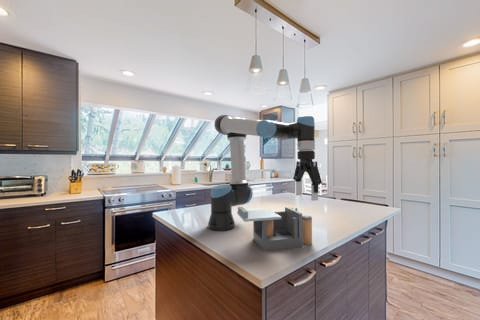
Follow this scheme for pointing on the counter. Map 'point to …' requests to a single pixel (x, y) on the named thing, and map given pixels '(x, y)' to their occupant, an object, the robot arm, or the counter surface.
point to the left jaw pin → (269, 228)
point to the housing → (280, 231)
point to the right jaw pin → (306, 230)
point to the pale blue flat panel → (257, 215)
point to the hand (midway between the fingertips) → (306, 197)
